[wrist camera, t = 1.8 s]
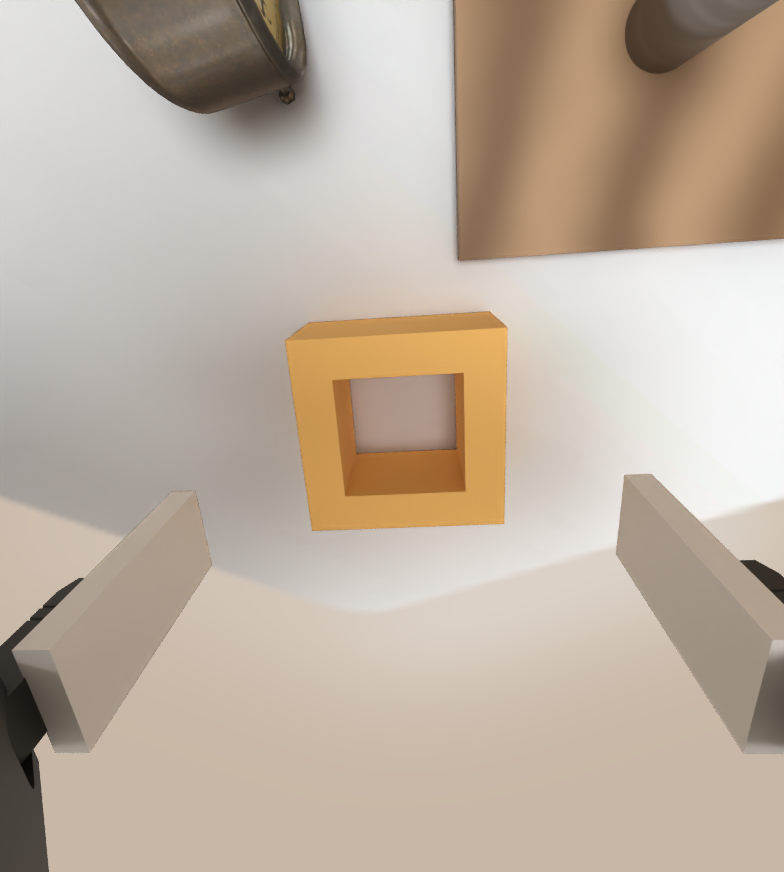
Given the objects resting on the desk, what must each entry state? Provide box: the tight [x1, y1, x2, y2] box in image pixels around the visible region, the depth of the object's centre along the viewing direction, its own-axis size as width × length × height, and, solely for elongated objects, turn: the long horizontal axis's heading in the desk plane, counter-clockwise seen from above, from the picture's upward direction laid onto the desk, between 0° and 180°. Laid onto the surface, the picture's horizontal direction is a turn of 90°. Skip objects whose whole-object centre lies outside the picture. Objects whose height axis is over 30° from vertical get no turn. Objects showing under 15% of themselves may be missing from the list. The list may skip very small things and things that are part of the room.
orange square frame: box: [285, 311, 507, 531], centre depth 24 cm, size 9×9×5 cm
